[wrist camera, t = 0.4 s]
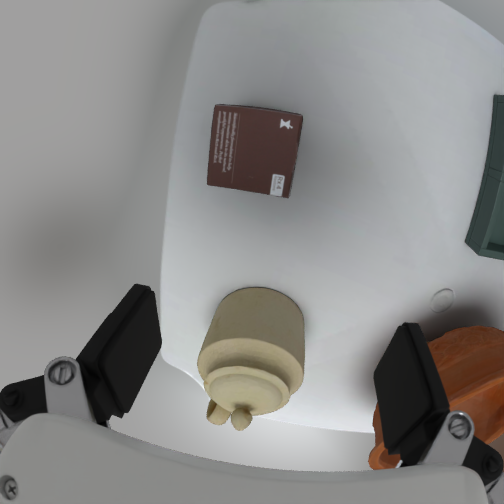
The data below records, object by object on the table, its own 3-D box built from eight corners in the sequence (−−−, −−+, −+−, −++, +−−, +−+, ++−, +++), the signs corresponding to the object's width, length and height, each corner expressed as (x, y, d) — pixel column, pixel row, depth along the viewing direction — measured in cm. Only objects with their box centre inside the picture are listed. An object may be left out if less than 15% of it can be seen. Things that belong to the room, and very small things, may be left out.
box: (235, 104, 23) (213, 101, 17) (301, 114, 23) (305, 113, 17) (227, 167, 26) (204, 186, 20) (290, 177, 26) (289, 200, 19)
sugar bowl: (296, 373, 38) (290, 467, 25) (220, 365, 39) (194, 455, 26) (309, 289, 31) (312, 405, 18) (211, 281, 32) (164, 387, 19)
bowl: (476, 382, 36) (498, 444, 23) (356, 412, 42) (360, 487, 29) (516, 272, 26) (573, 341, 13) (359, 307, 31) (382, 417, 18)
